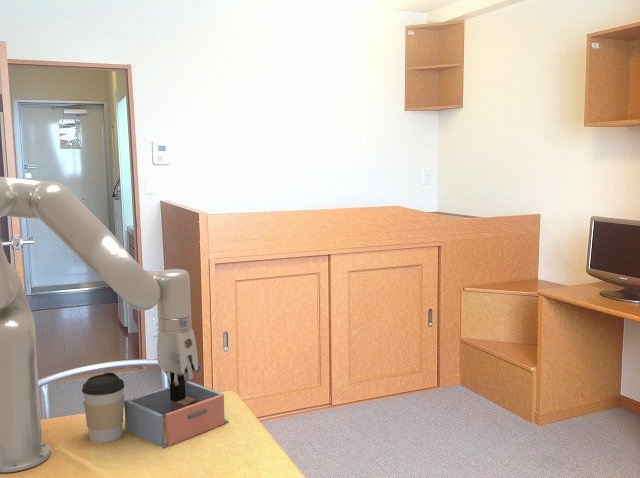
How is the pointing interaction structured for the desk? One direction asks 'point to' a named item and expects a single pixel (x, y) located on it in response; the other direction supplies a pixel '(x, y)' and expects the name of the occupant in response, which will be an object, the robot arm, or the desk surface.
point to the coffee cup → (104, 407)
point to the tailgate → (194, 419)
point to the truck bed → (158, 411)
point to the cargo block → (183, 403)
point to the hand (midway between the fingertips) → (178, 399)
